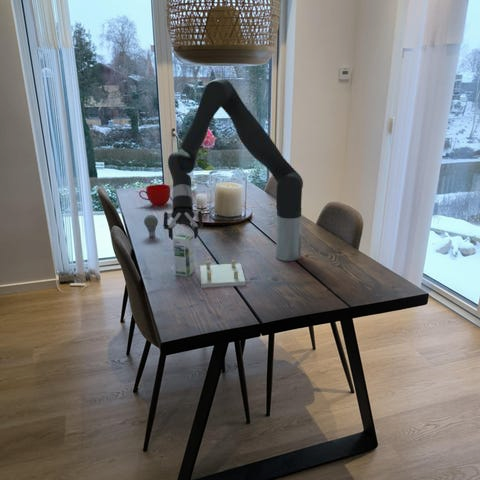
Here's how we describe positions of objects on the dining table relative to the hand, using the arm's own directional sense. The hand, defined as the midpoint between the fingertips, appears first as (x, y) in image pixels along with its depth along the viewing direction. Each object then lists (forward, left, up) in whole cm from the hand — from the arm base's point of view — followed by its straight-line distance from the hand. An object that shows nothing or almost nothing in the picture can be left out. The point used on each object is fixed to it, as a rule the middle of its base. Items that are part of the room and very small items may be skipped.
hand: (183, 238), depth 158 cm
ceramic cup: (+17, -86, -12) cm, 88 cm away
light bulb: (+15, -36, -12) cm, 41 cm away
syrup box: (0, +4, -12) cm, 13 cm away
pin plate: (-13, +9, -12) cm, 20 cm away
